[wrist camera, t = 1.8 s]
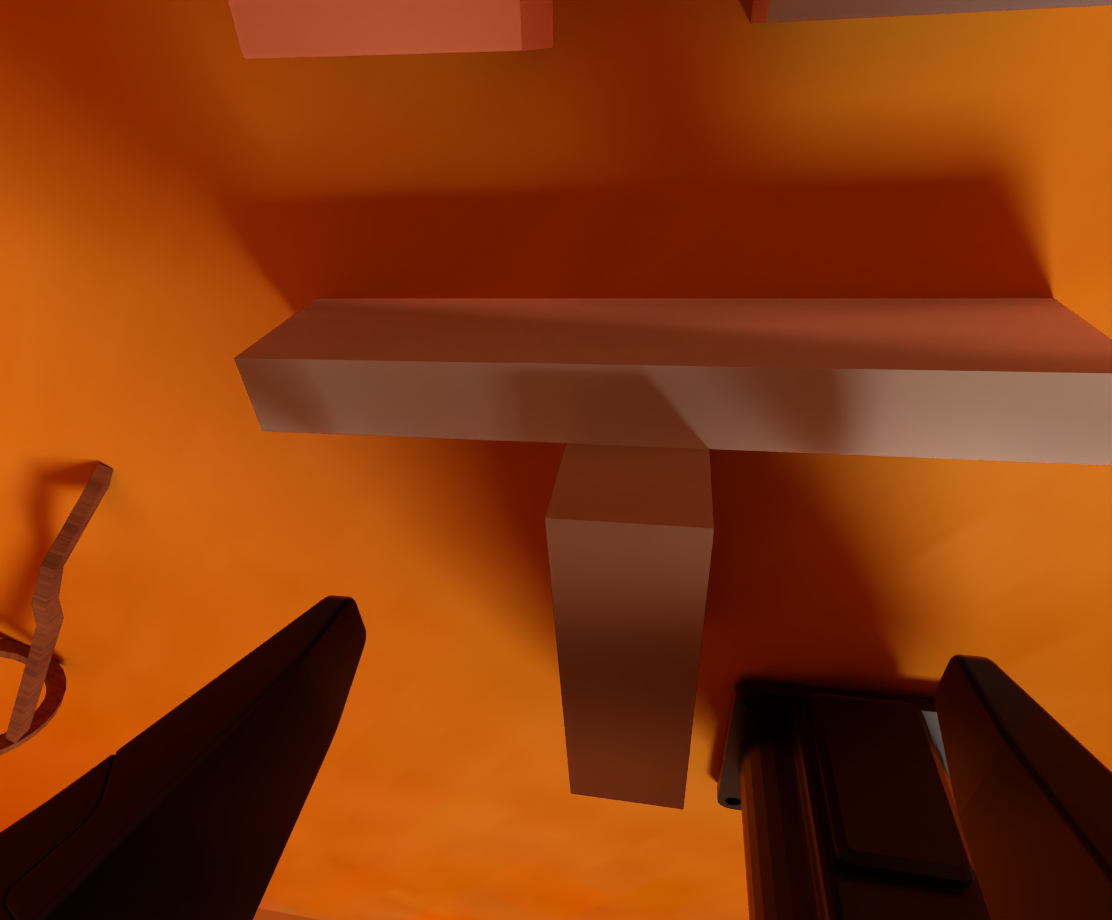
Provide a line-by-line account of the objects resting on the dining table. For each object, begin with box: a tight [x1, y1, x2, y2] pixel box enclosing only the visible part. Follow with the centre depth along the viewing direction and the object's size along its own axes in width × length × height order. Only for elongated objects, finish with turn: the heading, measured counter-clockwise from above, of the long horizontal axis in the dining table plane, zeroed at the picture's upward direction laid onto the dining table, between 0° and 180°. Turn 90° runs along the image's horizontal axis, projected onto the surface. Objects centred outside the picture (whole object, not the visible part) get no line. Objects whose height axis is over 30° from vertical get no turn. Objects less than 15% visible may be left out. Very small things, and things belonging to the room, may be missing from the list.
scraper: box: [234, 298, 1112, 809], centre depth 12 cm, size 9×14×5 cm, turn 94°
